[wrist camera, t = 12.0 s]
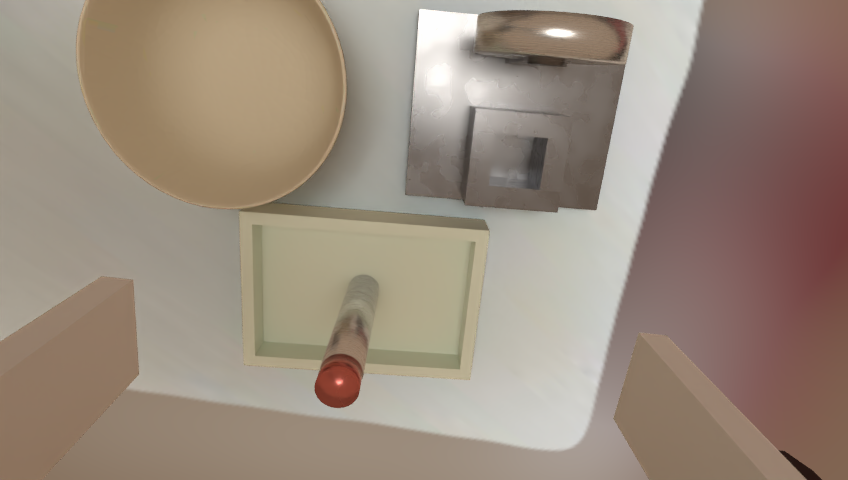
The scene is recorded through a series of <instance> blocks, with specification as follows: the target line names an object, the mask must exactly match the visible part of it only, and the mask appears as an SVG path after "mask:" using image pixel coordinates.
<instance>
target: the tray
mask: <svg viewBox="0 0 848 480" xmlns="http://www.w3.org/2000/svg"><path fill="white" fill-rule="evenodd" d="M239 230H240V262H241V294H242V326H243V358H244V365H248V366H264V367H279V368H294V369H309V370H320V366H321V363H322V360H323V357H324V354H325V351H326V348H327V345H328V343H329V340H330V337H331V334H332V331H333V328H334V325H335V322H336V319H337V317H338V314H339V311H340V308H341V305H342V302H343V299H344V296H345V293H346V291H347V288H348V285H349V282H350V281H351V280H352V279H353V278H354V277H355V276H358V275H369V276H371V277H373V278H374V279H375V280H376V281H377V282H378V284H379V296H378V301H377V306H376V311H375V317H374V322H373V327H372V332H371V337H370V343H369V348H368V353H367V358H366V363H365V369H364V373H370V374H386V375H401V376H416V377H431V378H447V379H462V380H470V375H471V367H472V360H473V352H474V345H475V337H476V330H477V322H478V315H479V307H480V300H481V292H482V285H483V277H484V270H485V262H486V255H487V247H488V240H489V232H490V231H489V228H488V226H487V224H486V222H485V220H481V219H469V218H456V217H443V216H431V215H418V214H405V213H393V212H380V211H367V210H355V209H342V208H330V207H317V206H304V205H292V204H279V203H266V204H263V205H259V206H255V207H249V208H243V209H241V210H240V211H239Z"/></svg>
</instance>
